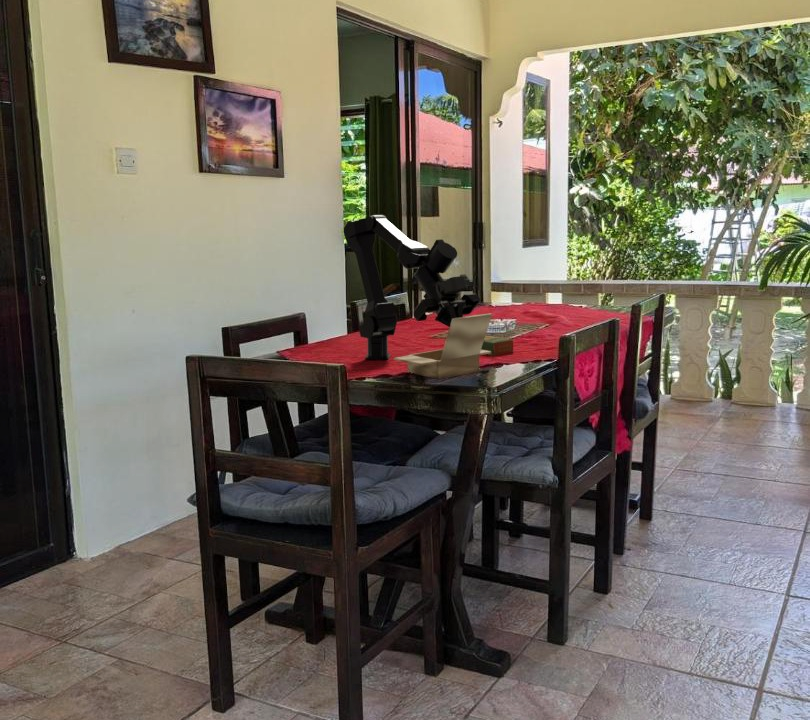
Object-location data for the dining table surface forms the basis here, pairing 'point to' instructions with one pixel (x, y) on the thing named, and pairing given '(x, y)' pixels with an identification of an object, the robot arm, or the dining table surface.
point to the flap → (465, 336)
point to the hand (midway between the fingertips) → (463, 332)
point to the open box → (441, 364)
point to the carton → (497, 345)
